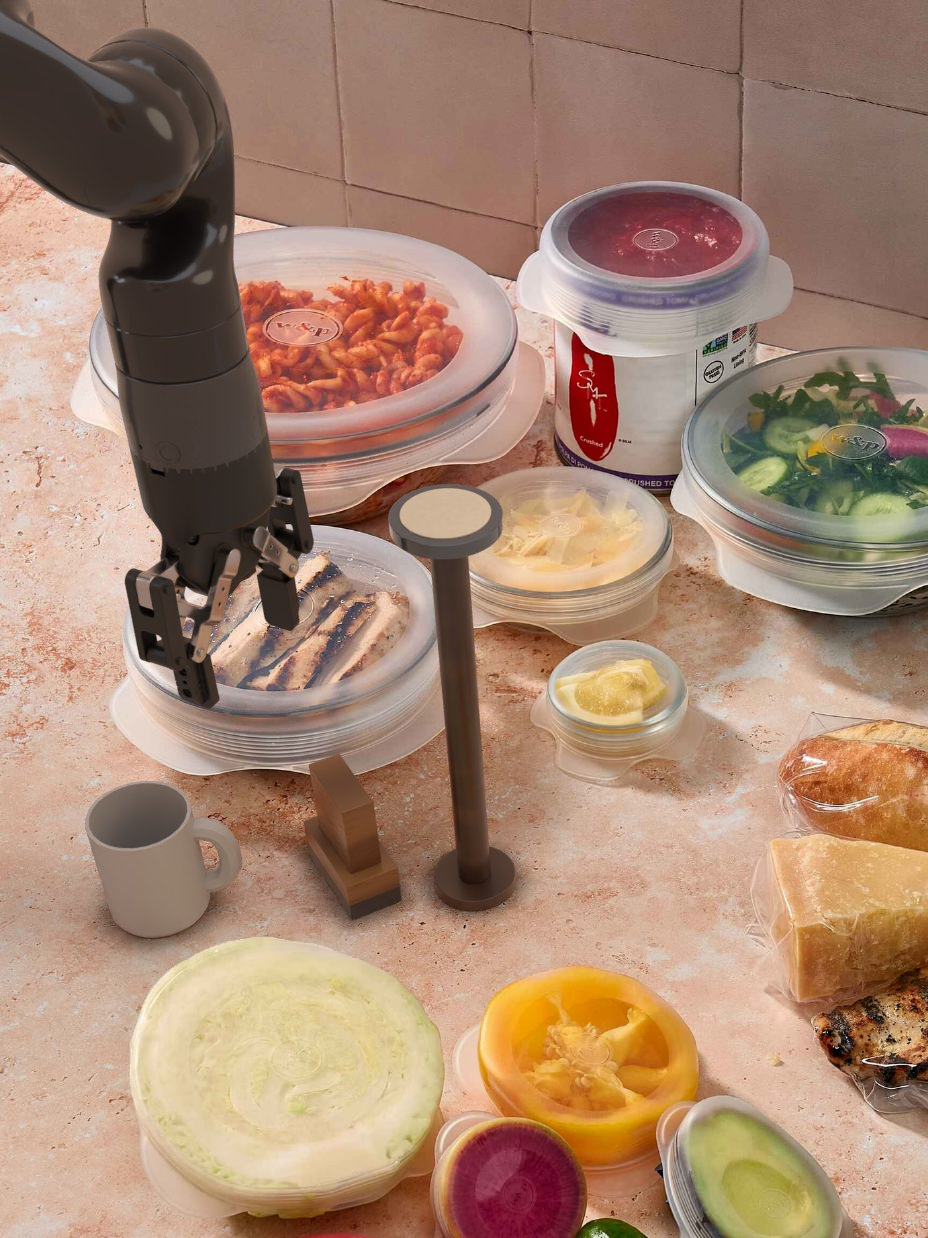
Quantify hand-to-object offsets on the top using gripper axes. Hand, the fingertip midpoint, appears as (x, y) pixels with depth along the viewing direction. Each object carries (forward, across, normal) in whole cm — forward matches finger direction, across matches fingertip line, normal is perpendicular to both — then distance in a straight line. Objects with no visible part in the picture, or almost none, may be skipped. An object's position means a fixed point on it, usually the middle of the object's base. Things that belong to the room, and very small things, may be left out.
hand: (243, 662), depth 103 cm
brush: (+25, -7, 0) cm, 26 cm away
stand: (+25, -10, +9) cm, 28 cm away
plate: (-6, -11, +9) cm, 15 cm away
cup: (+25, +1, -10) cm, 27 cm away
